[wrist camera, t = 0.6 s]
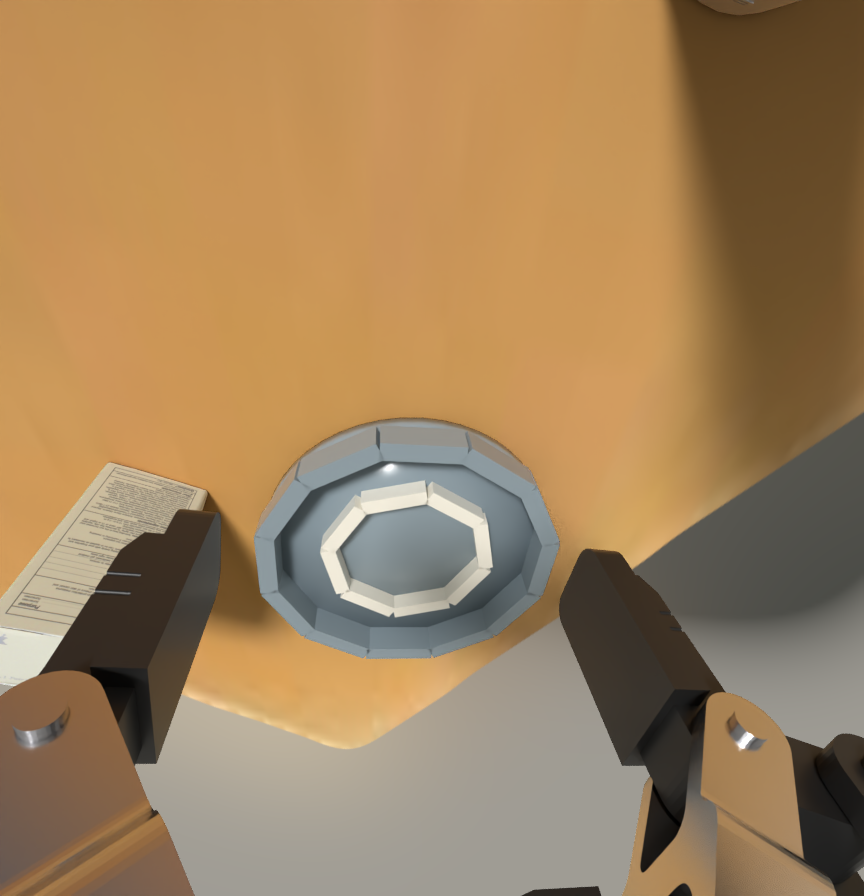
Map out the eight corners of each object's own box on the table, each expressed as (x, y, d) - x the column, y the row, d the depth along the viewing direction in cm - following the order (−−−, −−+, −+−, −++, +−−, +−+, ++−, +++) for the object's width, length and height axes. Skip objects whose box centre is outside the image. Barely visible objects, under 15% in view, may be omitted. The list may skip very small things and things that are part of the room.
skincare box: (98, 508, 32) (-31, 681, 22) (109, 456, 30) (-28, 622, 20) (197, 535, 34) (120, 706, 24) (213, 488, 32) (136, 654, 22)
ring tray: (364, 358, 28) (362, 382, 26) (598, 503, 36) (615, 533, 33) (218, 568, 36) (205, 603, 34) (435, 650, 44) (439, 684, 41)
